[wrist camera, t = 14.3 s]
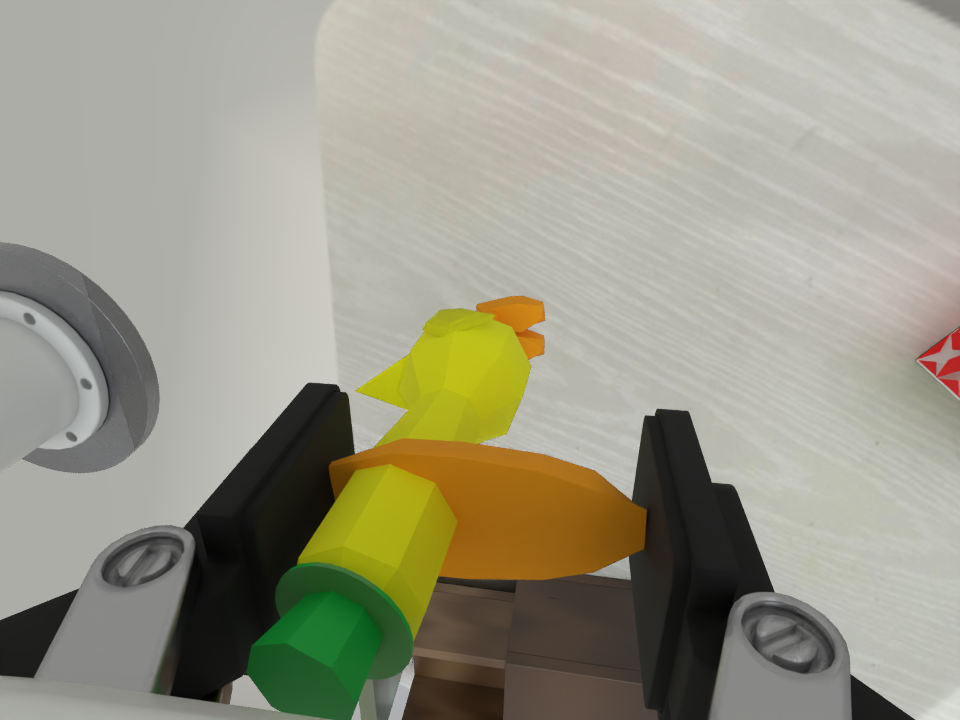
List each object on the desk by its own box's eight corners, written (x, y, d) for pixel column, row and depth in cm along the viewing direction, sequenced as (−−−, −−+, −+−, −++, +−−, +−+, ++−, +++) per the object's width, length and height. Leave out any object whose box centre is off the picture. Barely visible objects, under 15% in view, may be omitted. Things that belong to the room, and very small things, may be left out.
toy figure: (636, 267, 16) (668, 641, 6) (631, 384, 18) (650, 847, 7) (402, 270, 18) (82, 570, 7) (416, 377, 19) (169, 754, 9)
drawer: (329, 660, 48) (298, 731, 43) (313, 554, 43) (275, 621, 38) (558, 696, 45) (554, 777, 40) (570, 589, 40) (567, 665, 35)
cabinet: (512, 683, 47) (500, 787, 40) (518, 565, 41) (505, 663, 35) (704, 714, 45) (725, 828, 38) (738, 594, 39) (770, 703, 33)
